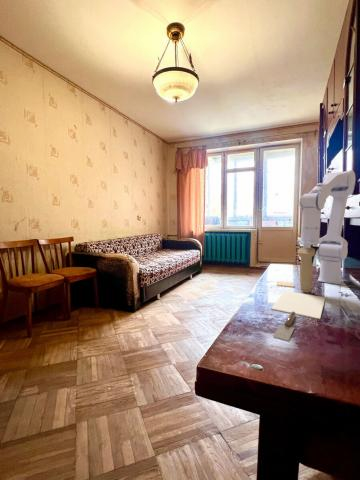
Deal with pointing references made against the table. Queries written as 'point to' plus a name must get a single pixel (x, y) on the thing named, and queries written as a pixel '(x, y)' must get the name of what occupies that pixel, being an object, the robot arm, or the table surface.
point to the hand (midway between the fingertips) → (308, 266)
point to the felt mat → (300, 304)
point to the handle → (306, 268)
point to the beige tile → (285, 284)
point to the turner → (285, 329)
